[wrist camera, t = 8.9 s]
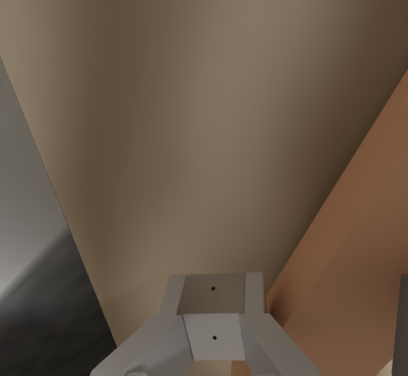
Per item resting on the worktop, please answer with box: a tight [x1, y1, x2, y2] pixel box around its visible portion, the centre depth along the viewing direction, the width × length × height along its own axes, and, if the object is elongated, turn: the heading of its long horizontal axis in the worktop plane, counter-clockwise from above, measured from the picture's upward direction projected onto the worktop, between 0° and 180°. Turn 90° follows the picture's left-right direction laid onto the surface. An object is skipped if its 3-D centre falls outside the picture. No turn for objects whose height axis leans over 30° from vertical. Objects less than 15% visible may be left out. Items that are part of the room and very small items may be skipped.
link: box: [231, 69, 408, 376], centre depth 10 cm, size 15×4×2 cm, turn 160°
